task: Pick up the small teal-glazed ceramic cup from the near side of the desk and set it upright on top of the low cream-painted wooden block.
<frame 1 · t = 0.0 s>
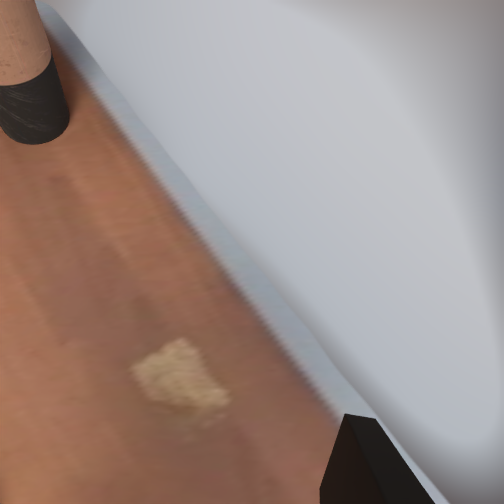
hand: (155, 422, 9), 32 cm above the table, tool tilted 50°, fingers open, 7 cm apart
travel mug: (36, 120, 51), on the table
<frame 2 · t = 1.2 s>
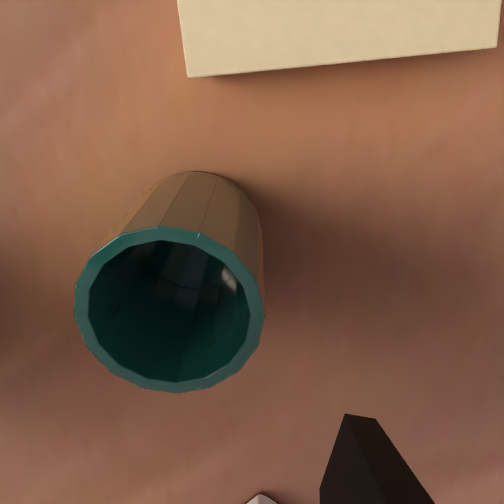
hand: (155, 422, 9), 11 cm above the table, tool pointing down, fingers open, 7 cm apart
cup: (197, 234, 19), on the table
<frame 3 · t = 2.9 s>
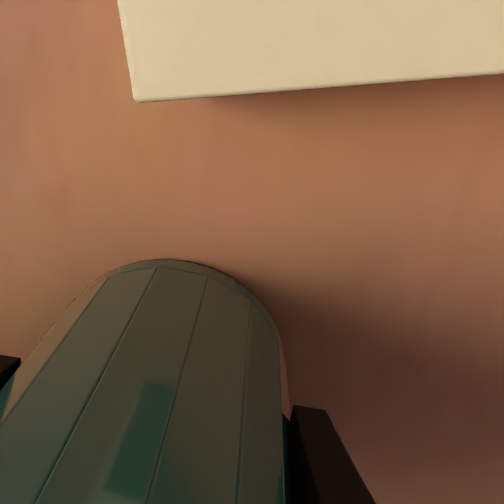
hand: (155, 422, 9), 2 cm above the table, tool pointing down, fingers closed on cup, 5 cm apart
cup: (173, 360, 11), on the table, touching gripper
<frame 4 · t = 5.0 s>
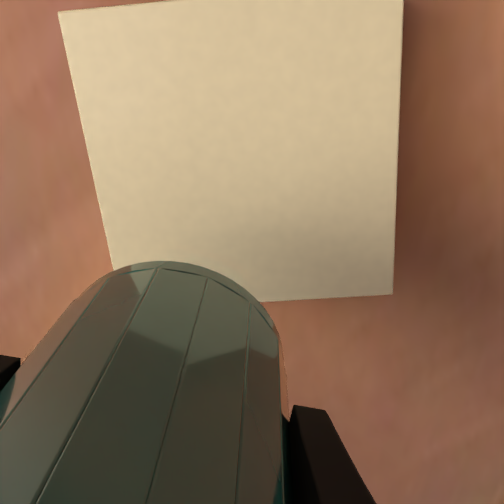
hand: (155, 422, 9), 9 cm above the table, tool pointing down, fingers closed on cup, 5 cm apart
block: (246, 149, 16), on the table
cup: (172, 361, 11), point 7 cm above the table, touching gripper
when the fingers open (5 cm above the table, at t = 7.2 s): cup stays where it is, resting on block.
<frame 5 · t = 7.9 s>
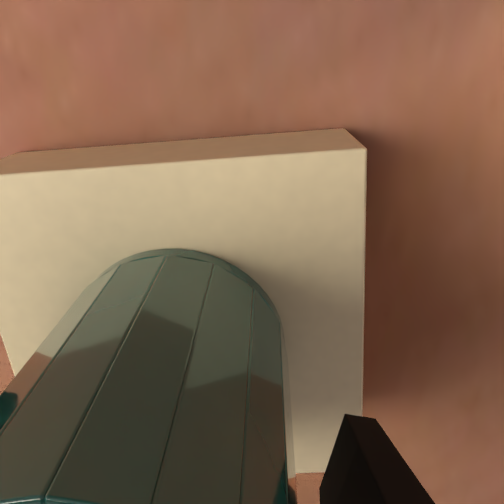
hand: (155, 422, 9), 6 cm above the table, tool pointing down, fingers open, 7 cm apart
block: (197, 288, 14), on the table, touching cup
cup: (180, 344, 11), point 3 cm above the table, touching block
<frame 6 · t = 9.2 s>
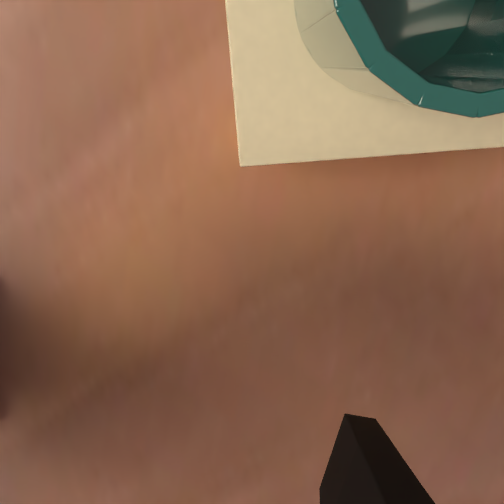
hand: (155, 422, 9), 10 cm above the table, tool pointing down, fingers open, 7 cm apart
block: (364, 5, 15), on the table, touching cup
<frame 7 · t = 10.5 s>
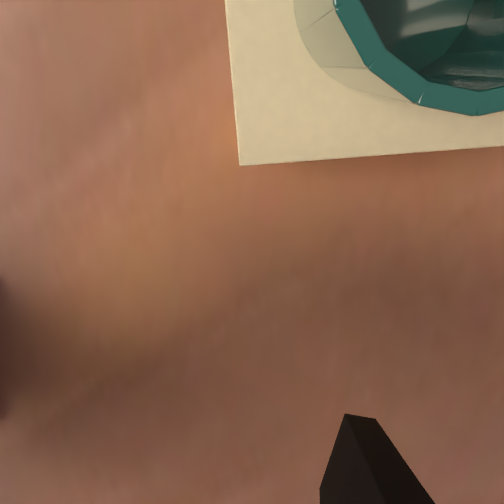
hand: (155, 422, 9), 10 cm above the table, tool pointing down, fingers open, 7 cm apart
block: (364, 4, 15), on the table, touching cup
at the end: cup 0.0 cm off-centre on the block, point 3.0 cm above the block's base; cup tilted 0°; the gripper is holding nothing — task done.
